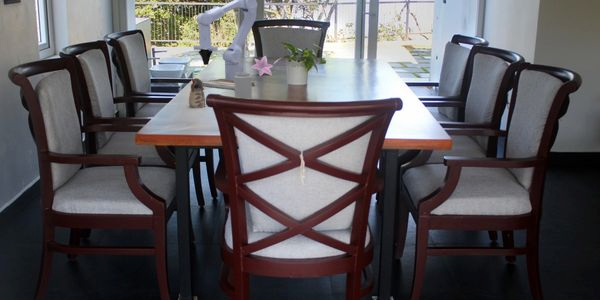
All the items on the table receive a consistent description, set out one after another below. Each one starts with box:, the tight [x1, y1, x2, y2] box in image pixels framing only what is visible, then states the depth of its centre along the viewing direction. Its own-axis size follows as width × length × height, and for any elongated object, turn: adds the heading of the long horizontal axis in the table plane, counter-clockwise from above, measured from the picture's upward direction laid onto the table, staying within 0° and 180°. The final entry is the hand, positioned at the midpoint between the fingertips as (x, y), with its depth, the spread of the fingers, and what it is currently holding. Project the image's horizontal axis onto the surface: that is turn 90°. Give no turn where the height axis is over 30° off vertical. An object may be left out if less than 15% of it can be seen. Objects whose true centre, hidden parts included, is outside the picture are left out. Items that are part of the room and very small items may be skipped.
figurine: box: [188, 77, 207, 108], centre depth 296 cm, size 7×7×12 cm
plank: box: [202, 80, 235, 90], centre depth 345 cm, size 7×22×2 cm, turn 55°
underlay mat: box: [203, 84, 256, 91], centre depth 348 cm, size 15×23×1 cm, turn 55°
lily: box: [251, 55, 274, 77], centre depth 384 cm, size 12×12×10 cm
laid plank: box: [211, 78, 255, 87], centre depth 351 cm, size 6×22×2 cm, turn 55°
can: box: [234, 71, 253, 99], centre depth 309 cm, size 8×8×12 cm
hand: (206, 64), depth 355 cm, fingers closed
